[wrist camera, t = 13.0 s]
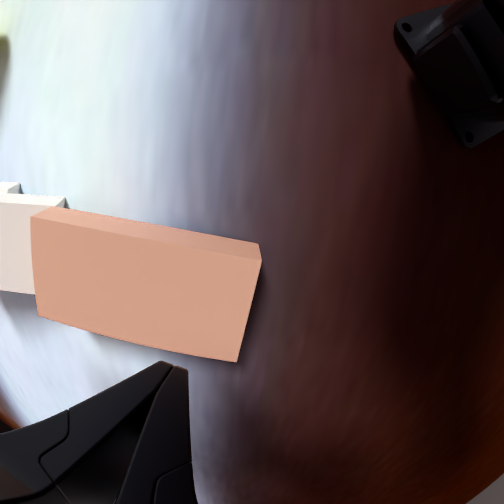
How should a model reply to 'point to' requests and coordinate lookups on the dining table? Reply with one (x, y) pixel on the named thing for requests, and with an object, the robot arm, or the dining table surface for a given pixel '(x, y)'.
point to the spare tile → (144, 281)
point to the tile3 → (9, 187)
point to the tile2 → (19, 238)
